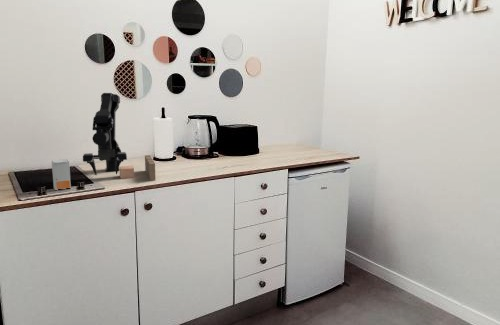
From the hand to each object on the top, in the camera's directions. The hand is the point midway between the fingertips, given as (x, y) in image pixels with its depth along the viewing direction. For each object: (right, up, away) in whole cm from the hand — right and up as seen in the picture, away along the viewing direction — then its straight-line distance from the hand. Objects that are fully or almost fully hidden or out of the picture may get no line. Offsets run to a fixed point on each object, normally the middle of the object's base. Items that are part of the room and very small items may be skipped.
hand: (106, 174), depth 171 cm
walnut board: (+19, 0, +7) cm, 20 cm away
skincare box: (-11, -5, -18) cm, 22 cm away
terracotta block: (+9, -1, +3) cm, 9 cm away
